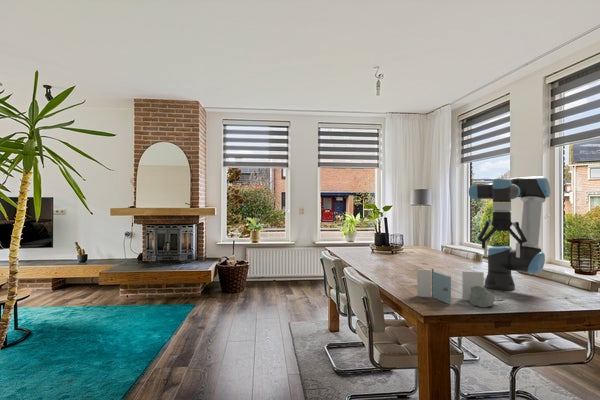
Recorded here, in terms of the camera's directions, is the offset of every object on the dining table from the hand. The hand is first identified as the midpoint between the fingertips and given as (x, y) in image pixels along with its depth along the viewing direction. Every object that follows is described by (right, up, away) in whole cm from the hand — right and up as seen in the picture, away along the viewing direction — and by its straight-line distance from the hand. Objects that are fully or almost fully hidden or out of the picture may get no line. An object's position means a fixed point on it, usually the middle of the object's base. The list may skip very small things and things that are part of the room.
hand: (501, 256), depth 163 cm
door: (-26, -23, +8) cm, 35 cm away
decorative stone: (-8, -23, +1) cm, 25 cm away
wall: (-19, -23, +12) cm, 32 cm away
